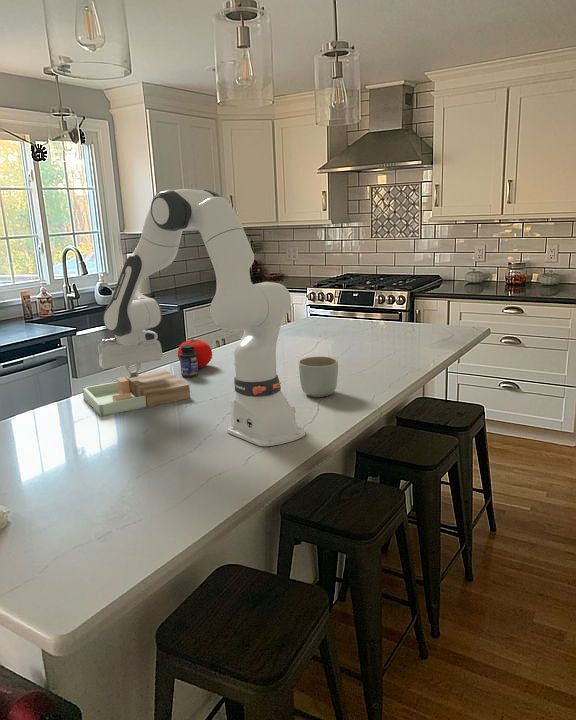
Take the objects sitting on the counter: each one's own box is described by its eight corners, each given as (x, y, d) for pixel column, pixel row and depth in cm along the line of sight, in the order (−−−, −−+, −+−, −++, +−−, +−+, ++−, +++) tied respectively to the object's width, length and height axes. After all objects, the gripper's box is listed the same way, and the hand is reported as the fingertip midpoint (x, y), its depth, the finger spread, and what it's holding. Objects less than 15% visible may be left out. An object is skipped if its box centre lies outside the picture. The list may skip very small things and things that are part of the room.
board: (190, 398, 190) (189, 384, 189) (148, 406, 183) (146, 392, 182) (166, 382, 208) (165, 369, 207) (127, 389, 201) (125, 377, 200)
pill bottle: (194, 378, 212) (192, 348, 209) (178, 377, 213) (176, 348, 210) (200, 373, 218) (198, 344, 215) (185, 372, 219) (182, 344, 216)
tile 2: (128, 380, 192) (120, 382, 191) (130, 395, 193) (122, 396, 192) (124, 377, 196) (116, 378, 195) (126, 391, 198) (118, 392, 196)
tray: (146, 407, 183) (145, 396, 182) (100, 416, 176) (99, 405, 175) (125, 390, 201) (124, 380, 200) (83, 398, 194) (82, 387, 193)
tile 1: (116, 399, 181) (117, 407, 182) (132, 396, 183) (133, 404, 184) (112, 395, 185) (113, 403, 186) (127, 392, 188) (128, 400, 188)
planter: (329, 386, 196) (329, 354, 193) (344, 397, 185) (344, 363, 182) (294, 391, 193) (293, 359, 190) (307, 402, 181) (306, 368, 178)
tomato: (193, 362, 234) (191, 334, 231) (218, 365, 227) (216, 337, 224) (172, 369, 225) (169, 341, 222) (197, 373, 218) (195, 344, 215)
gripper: (98, 342, 184) (104, 385, 187) (162, 333, 194) (165, 373, 198) (94, 339, 189) (99, 380, 193) (155, 330, 199) (159, 369, 203)
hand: (133, 377), depth 195 cm, fingers closed
